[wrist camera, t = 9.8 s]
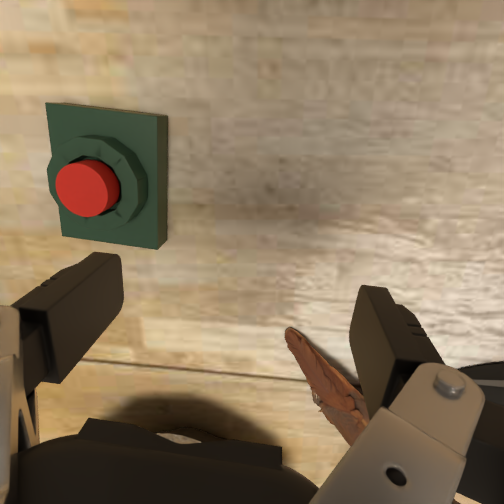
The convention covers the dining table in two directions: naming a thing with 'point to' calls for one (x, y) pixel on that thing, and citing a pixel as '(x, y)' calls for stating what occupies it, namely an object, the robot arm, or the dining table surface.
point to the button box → (114, 170)
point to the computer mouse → (489, 380)
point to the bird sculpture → (331, 390)
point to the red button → (87, 187)
